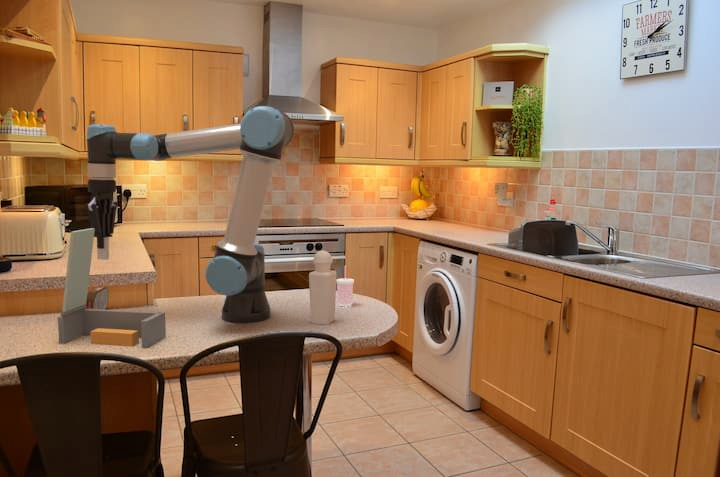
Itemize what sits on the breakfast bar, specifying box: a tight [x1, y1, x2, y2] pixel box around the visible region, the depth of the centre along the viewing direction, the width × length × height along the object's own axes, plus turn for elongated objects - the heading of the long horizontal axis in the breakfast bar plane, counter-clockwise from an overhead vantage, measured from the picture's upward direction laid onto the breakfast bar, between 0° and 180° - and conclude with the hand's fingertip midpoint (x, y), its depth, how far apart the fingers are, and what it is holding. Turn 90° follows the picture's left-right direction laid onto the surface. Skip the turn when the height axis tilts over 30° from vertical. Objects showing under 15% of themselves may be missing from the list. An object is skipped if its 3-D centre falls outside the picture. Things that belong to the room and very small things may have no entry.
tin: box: [86, 285, 110, 310], centre depth 188 cm, size 15×3×8 cm, turn 5°
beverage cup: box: [336, 264, 355, 308], centre depth 200 cm, size 6×6×14 cm
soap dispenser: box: [308, 250, 338, 326], centre depth 178 cm, size 6×6×22 cm
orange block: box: [90, 328, 140, 347], centre depth 157 cm, size 12×3×4 cm, turn 80°
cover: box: [60, 228, 95, 317], centre depth 158 cm, size 23×9×1 cm
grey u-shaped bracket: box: [57, 309, 167, 349], centre depth 159 cm, size 25×10×7 cm, turn 81°
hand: (103, 259), depth 174 cm, fingers closed
